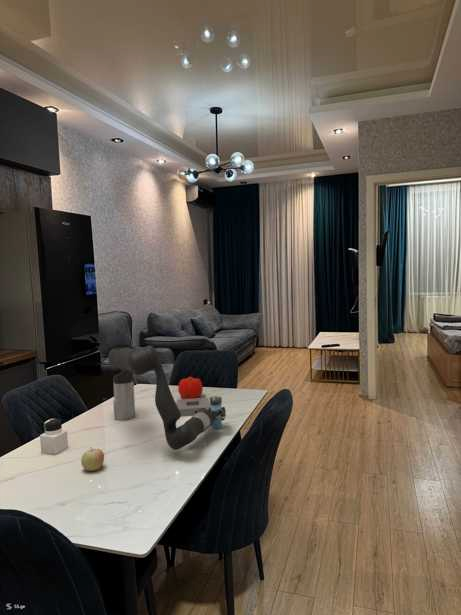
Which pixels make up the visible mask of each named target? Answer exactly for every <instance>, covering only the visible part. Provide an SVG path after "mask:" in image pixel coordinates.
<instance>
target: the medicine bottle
mask: <svg viewBox="0 0 461 615" xmlns="http://www.w3.org/2000/svg"><path fill="white" fill-rule="evenodd" d="M68 439H69V438H68V430H66V429H63V426H62V420H61V419H59V418H51V419H48V420H46V421H45V422H44V432H43V433H42V434H40V435H39V442H40V443H39V444H40V453H41V454H47V455H53V456H55V455H59V454H60V453H61V452H64V451H65V450H66V449H68V448H69V440H68Z"/></svg>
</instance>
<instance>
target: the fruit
mask: <svg viewBox="0 0 461 615" xmlns="http://www.w3.org/2000/svg"><path fill="white" fill-rule="evenodd" d="M104 460H105V454H104V451H103V450H102V449H100V448H92V447H90V449H88V450H86V451H84V452H83V453H82V456H81V459H80V462H81V466H82V468H83V469H84V470H86V471H91V472H93V471H97V470H100V469H101V467H102V466H103V464H104Z"/></svg>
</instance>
